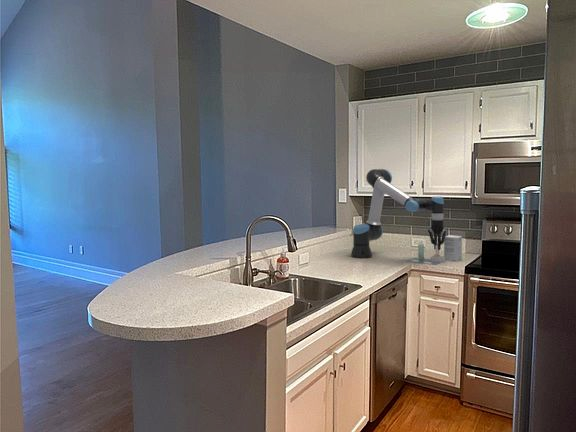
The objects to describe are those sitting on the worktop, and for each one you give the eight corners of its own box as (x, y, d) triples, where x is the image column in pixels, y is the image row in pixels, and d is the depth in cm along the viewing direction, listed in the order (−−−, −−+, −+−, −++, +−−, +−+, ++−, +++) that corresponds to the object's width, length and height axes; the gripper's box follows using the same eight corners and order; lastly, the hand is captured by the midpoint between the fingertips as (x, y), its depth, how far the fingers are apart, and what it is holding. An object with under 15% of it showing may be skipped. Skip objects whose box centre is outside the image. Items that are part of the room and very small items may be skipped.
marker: (417, 261, 283) (417, 243, 282) (419, 260, 286) (419, 243, 285) (422, 262, 281) (422, 244, 280) (424, 261, 283) (424, 243, 282)
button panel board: (404, 262, 285) (404, 256, 285) (414, 258, 297) (414, 252, 297) (435, 266, 270) (435, 259, 270) (445, 262, 282) (445, 256, 282)
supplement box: (448, 258, 293) (448, 235, 292) (462, 260, 288) (462, 235, 286) (443, 261, 286) (443, 236, 285) (457, 262, 280) (457, 237, 279)
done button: (433, 260, 282) (433, 254, 281) (435, 260, 284) (435, 254, 284) (438, 261, 279) (438, 255, 279) (440, 260, 282) (440, 254, 282)
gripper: (425, 219, 281) (425, 254, 283) (444, 220, 272) (444, 256, 274) (430, 218, 287) (430, 252, 289) (449, 219, 278) (449, 254, 280)
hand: (437, 254), depth 281 cm, fingers closed
